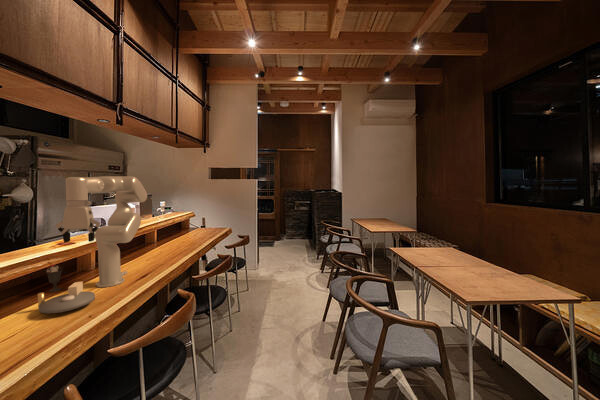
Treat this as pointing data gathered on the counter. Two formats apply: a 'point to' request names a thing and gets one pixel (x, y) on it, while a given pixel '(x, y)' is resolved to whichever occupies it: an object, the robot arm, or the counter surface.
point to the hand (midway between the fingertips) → (79, 241)
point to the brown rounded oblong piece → (43, 300)
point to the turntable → (68, 300)
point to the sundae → (54, 276)
